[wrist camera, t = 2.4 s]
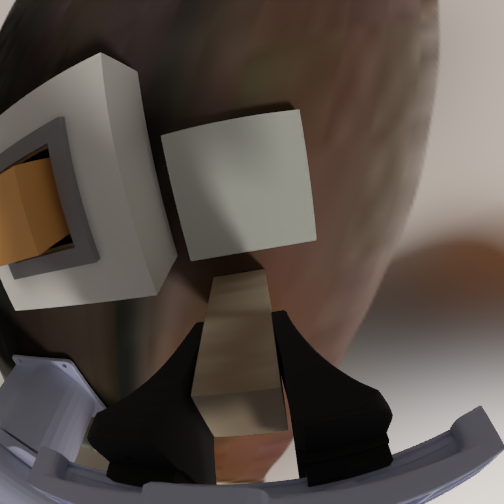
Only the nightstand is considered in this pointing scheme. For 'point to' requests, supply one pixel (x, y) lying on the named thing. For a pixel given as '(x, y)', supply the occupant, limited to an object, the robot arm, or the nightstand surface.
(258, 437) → the nightstand surface
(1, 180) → the button
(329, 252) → the nightstand surface
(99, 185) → the guard housing
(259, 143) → the pad
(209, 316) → the wooden building block
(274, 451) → the nightstand surface
